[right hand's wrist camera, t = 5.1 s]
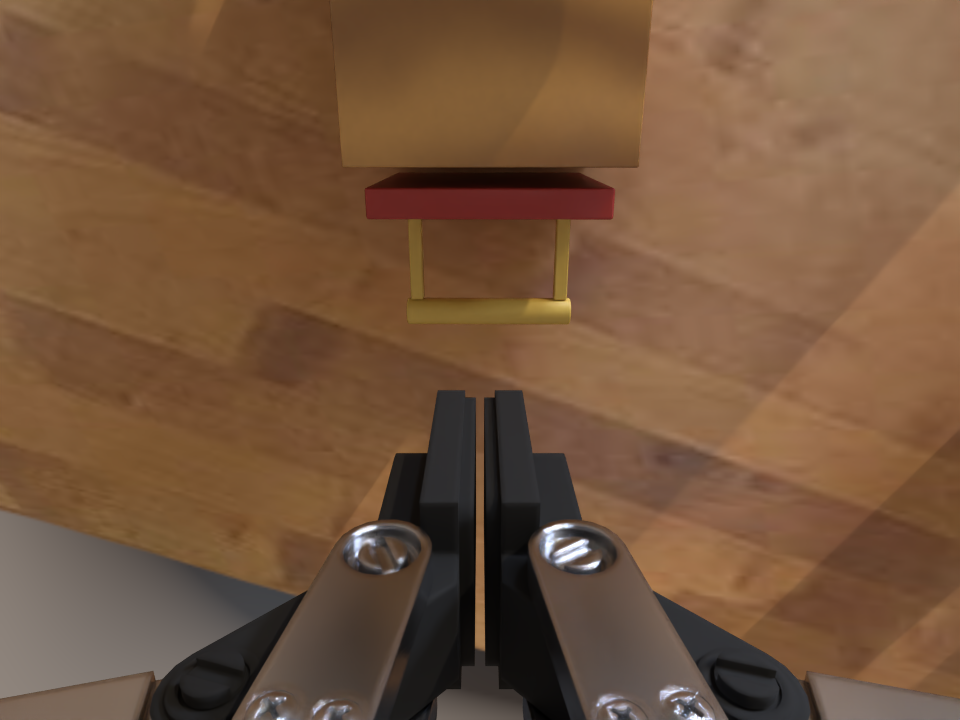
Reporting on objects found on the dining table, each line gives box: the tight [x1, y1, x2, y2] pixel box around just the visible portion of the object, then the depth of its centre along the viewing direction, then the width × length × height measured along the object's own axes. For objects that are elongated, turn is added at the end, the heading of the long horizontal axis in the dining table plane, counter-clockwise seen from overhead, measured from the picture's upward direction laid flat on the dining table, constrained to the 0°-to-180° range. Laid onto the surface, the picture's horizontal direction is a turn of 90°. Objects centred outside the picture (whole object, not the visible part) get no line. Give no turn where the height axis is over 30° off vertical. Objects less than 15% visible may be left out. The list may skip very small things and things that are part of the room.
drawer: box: [365, 173, 615, 324], centre depth 26 cm, size 24×10×9 cm, turn 0°
